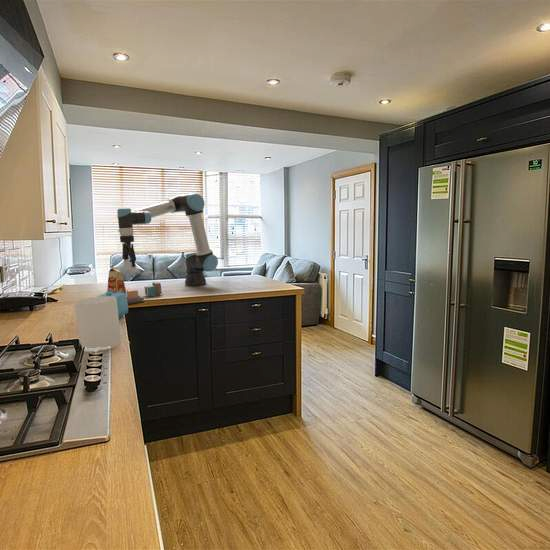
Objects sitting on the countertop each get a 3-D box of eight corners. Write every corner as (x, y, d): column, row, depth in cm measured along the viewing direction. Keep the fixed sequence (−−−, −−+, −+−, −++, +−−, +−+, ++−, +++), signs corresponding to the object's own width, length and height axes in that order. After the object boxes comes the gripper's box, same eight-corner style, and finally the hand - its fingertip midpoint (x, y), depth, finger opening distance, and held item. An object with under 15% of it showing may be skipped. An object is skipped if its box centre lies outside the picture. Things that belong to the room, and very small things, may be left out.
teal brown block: (158, 293, 252) (157, 281, 250) (162, 294, 246) (161, 282, 245) (144, 295, 246) (143, 283, 245) (148, 297, 241) (147, 284, 240)
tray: (139, 298, 236) (138, 295, 236) (144, 301, 228) (143, 297, 228) (122, 301, 230) (121, 297, 230) (126, 304, 222) (126, 300, 222)
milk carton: (119, 299, 239) (116, 267, 236) (106, 298, 240) (102, 267, 237) (127, 295, 247) (124, 265, 244) (115, 295, 249) (111, 265, 246)
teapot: (113, 324, 180) (110, 295, 178) (90, 324, 181) (87, 296, 179) (134, 312, 201) (131, 286, 199) (113, 313, 202) (111, 287, 200)
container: (94, 339, 158) (89, 296, 155) (127, 339, 156) (123, 295, 154) (72, 352, 143) (66, 304, 141) (109, 351, 142) (104, 304, 139)
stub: (136, 298, 233) (135, 289, 232) (138, 300, 229) (137, 290, 228) (127, 300, 230) (126, 290, 229) (129, 301, 226) (128, 291, 225)
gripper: (114, 235, 231) (118, 270, 235) (125, 236, 211) (129, 274, 214) (127, 234, 235) (131, 268, 239) (139, 235, 215) (143, 272, 219)
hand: (130, 271), depth 227 cm, fingers open, 13 cm apart
